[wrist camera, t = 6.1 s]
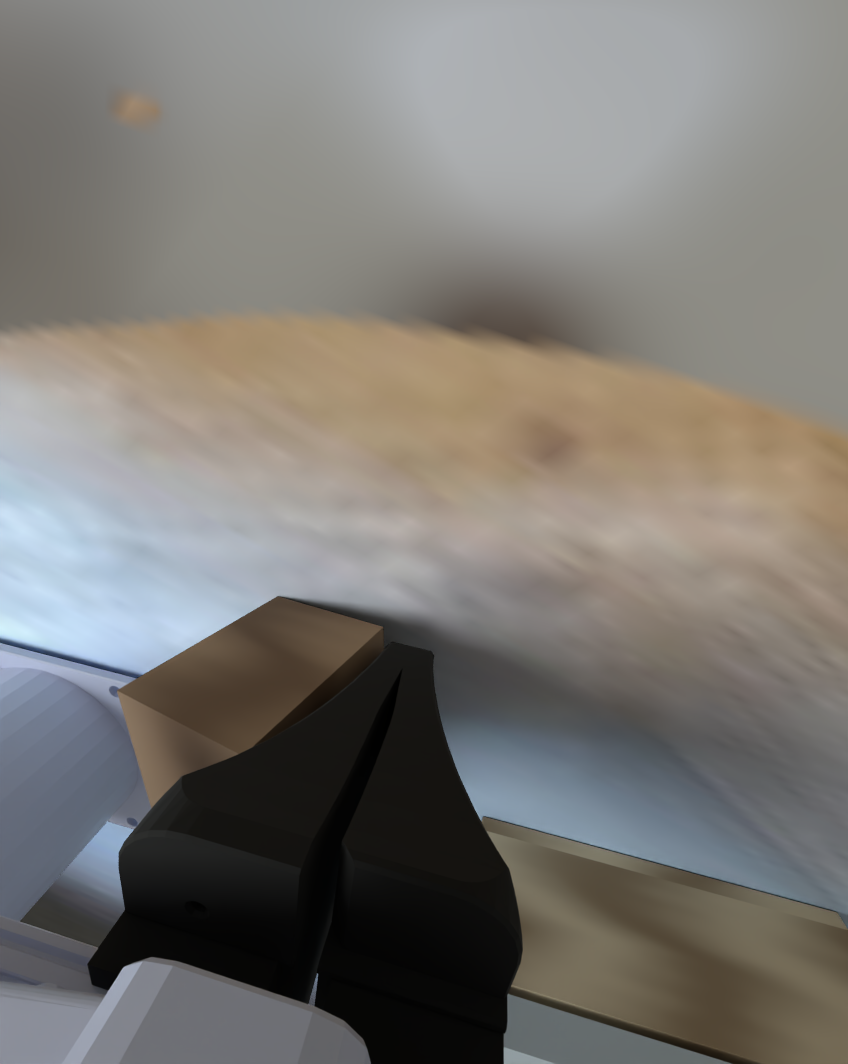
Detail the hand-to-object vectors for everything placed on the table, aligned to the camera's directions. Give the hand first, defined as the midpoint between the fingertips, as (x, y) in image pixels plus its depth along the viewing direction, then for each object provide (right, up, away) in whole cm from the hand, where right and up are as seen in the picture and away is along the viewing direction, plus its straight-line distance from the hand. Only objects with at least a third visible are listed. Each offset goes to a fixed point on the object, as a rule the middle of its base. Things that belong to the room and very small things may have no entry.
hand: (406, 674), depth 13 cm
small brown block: (-2, 0, +1) cm, 3 cm away
